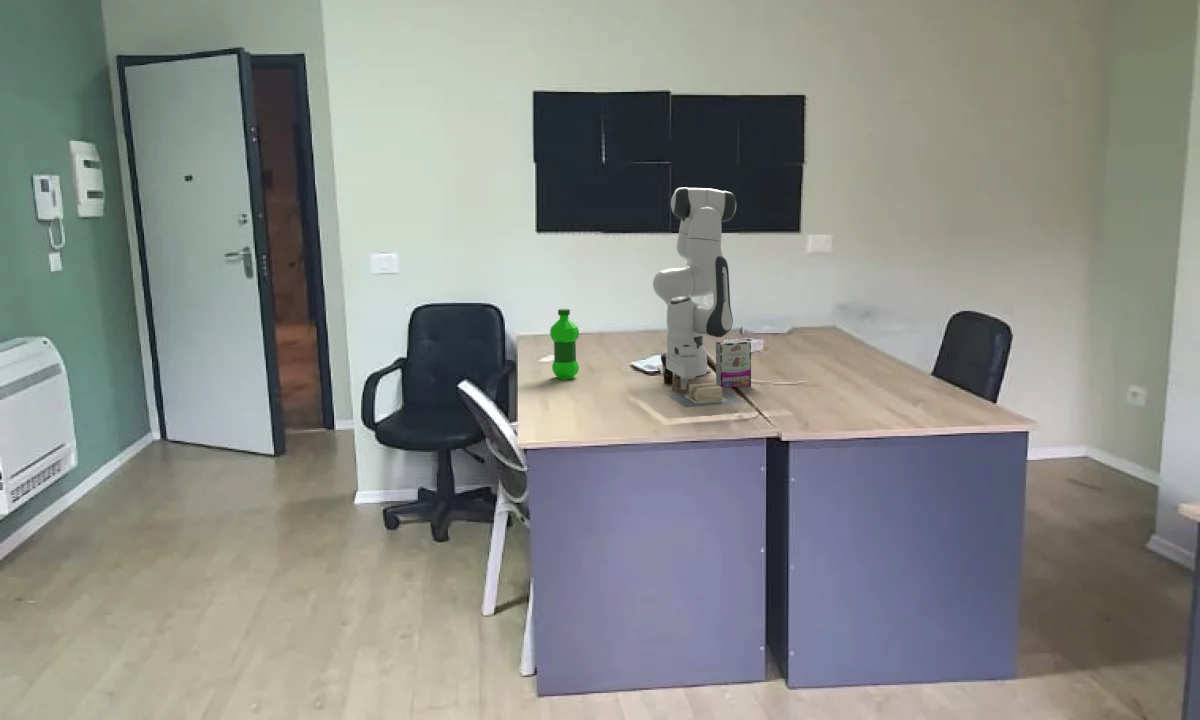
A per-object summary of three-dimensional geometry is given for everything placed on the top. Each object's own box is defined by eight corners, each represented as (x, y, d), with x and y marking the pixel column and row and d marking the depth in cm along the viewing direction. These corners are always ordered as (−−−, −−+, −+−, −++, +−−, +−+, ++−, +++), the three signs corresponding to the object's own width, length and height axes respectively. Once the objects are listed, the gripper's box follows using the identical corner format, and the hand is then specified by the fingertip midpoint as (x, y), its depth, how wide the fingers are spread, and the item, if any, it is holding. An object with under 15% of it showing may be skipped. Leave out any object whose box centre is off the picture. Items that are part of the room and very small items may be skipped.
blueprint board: (666, 399, 304) (666, 394, 304) (724, 394, 309) (724, 390, 309) (685, 411, 287) (685, 406, 287) (746, 407, 292) (746, 402, 292)
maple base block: (689, 396, 301) (689, 384, 300) (712, 394, 303) (713, 382, 302) (698, 402, 293) (698, 389, 292) (722, 400, 295) (722, 387, 294)
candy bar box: (745, 386, 321) (745, 339, 318) (751, 389, 316) (752, 341, 313) (714, 388, 318) (715, 341, 315) (720, 392, 314) (721, 343, 311)
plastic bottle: (546, 379, 338) (544, 310, 333) (560, 374, 347) (559, 307, 343) (570, 381, 334) (568, 312, 329) (584, 376, 343) (583, 308, 338)
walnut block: (672, 394, 311) (672, 376, 310) (683, 393, 312) (683, 376, 311) (676, 397, 307) (676, 379, 306) (688, 396, 308) (688, 378, 307)
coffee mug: (684, 385, 324) (684, 357, 323) (659, 384, 326) (659, 356, 324) (687, 378, 336) (687, 351, 334) (664, 377, 337) (663, 350, 335)
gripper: (661, 341, 316) (661, 381, 318) (681, 352, 296) (681, 394, 299) (678, 340, 317) (678, 380, 320) (700, 350, 298) (700, 393, 300)
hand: (680, 387), depth 309 cm, fingers closed on walnut block, 4 cm apart
